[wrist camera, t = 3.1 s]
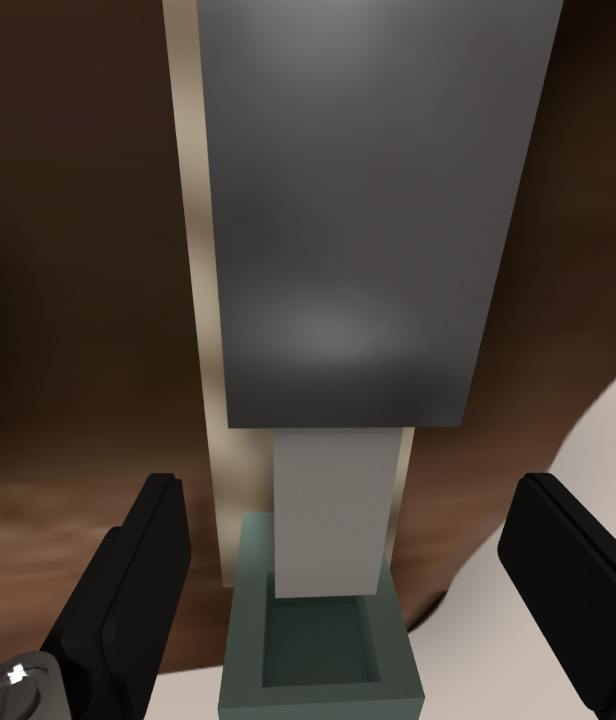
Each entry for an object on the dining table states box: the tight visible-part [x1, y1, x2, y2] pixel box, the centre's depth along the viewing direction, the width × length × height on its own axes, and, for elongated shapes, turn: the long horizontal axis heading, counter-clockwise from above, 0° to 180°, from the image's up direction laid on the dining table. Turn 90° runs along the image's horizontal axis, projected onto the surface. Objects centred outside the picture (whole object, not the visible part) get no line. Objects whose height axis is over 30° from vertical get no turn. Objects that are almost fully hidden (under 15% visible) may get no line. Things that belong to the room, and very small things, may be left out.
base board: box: [163, 0, 415, 587], centre depth 17 cm, size 28×10×2 cm, turn 178°
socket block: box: [218, 512, 425, 720], centre depth 17 cm, size 4×7×8 cm, turn 88°
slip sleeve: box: [196, 0, 564, 429], centre depth 9 cm, size 9×5×8 cm, turn 178°
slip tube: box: [273, 427, 404, 598], centre depth 10 cm, size 16×3×3 cm, turn 178°
